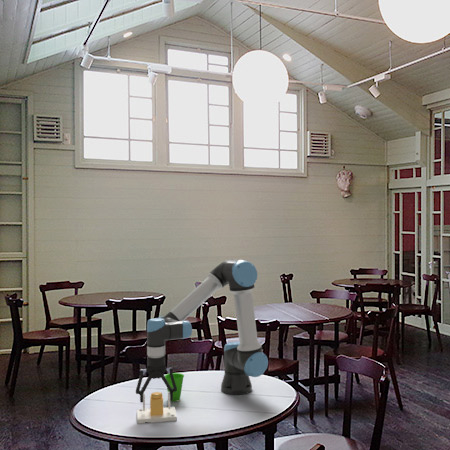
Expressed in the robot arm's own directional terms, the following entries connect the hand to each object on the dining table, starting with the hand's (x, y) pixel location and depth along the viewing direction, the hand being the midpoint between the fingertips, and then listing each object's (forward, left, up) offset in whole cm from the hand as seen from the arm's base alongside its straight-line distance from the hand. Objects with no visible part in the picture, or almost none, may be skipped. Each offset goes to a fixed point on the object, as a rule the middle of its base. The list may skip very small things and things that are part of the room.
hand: (156, 409), depth 206 cm
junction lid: (0, 0, -3) cm, 3 cm away
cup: (-9, -20, -3) cm, 22 cm away
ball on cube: (0, 0, -2) cm, 2 cm away
